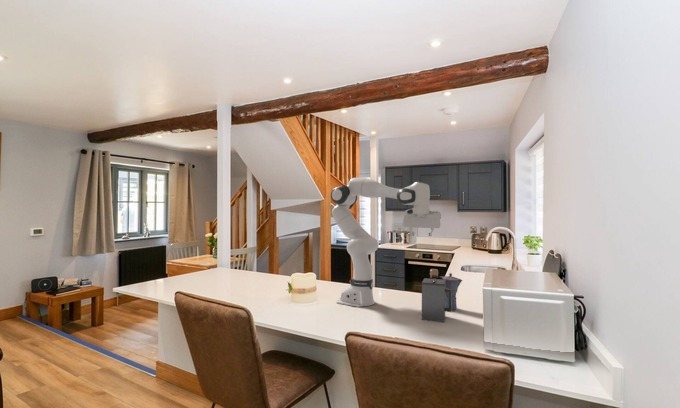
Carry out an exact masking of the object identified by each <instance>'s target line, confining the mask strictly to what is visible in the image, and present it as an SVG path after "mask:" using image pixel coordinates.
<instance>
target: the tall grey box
mask: <svg viewBox="0 0 680 408" xmlns="http://www.w3.org/2000/svg"><path fill="white" fill-rule="evenodd" d="M446 292H449V308H446ZM451 301H452V289H449V288H446V280H440V279H435V282H433V278H427V277H425V278H423V280H422V282H421V321H426V322H435V323H445V321H446V313H451V312H452V311H451Z"/></svg>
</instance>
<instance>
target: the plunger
mask: <svg viewBox="0 0 680 408" xmlns="http://www.w3.org/2000/svg"><path fill="white" fill-rule="evenodd" d="M438 276H439V270H438V269H437V268H430V270H429V279H433V282H435V278H438Z"/></svg>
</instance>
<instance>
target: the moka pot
mask: <svg viewBox="0 0 680 408" xmlns="http://www.w3.org/2000/svg"><path fill="white" fill-rule="evenodd" d="M435 279H440V280H446V288H449V289H452V301H451V312H454V311H457V310H458V309H457V308H458V307H457V293H458V289H459V286H460V285H461V283H462V282H463V280H462V279H461V278H458V277H455V276H453V273H451V272H450V273H448V276H447V275H445V276H441V275H438V278H435ZM446 308H449V292H446Z"/></svg>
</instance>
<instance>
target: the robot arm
mask: <svg viewBox="0 0 680 408" xmlns="http://www.w3.org/2000/svg"><path fill="white" fill-rule="evenodd" d="M430 189H431V188H430V185H429V183H427V182H422V181H414V182H413V183H412V184H410V185H408V186H406V187H403V188H396V187H392V186H389V185H388V186H387V185H385V184H383V183H381V182H378V181H376V180H374V179H370V178H366V177H352V178H351V179H350V180H349V181H348V183H347V185H345V184H342V185H340V186H336V187H334V188H332V190H331V192H330V198H331V201H332V202H333V203H334V204H336V205H335V206H334V207H332V210H331V214H332V218H333V220H334V222H335V223H336V225H337V226H338V228H339V229H340V231H341V232H342V233H343V235H344V236H345V237H346V238H348V239H349V240H348V242H347V244H346V251H347V253H348V254H349V255H350V258H351V262H352V269H353V272H352V273H353V276H352V278H351V279H349V283H350V284H349V285H348V286H346V287H345V288H344V289H343V290H342V291H341V292H340V297H339V298H337V299H336V304H339V305H346V306H352V307H356V308H357V307H358V308H360V307H367V306H368V307H369V306H372V305H374V304H375V303H376V302H375V298H374V293H373V288H374V279H373V265H372V264H371V262H370V259H369V255H371V254H373V253H375V252H376V251H378V248H379V242H378V240H377V238H376V237H375V236H372V235H370V233H368V231H367V230H365V229H364V227H362V226H361V225H360V223H359V222H358V221H357V220H356V218H355V216H354V215H353V213H352V212H351V210H352V208H353V206H355V204H356V203H357V201H358V196H360V197H364V198H369V199H370V198H373V199H376V198H389V199H394V200H396V201H397V202H398V203H399V204H401V205H404V206H413V207H411V208H409V209H406V210H405V211H404V212H405V214H404V216H403V219H402V226H403V228H408V229H409V232H410V233H411V234H410V236H413V237H414V236H415V231H413V228H421V229H423V228H424V229H425V228H426V229H427V228H428V229H430V232H428V237H433V236H432V233H433V232H434V230H435V229H440V228H441V218H442V213H441V212H439V211H438V210H431V204H430V199H431V191H430Z"/></svg>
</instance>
